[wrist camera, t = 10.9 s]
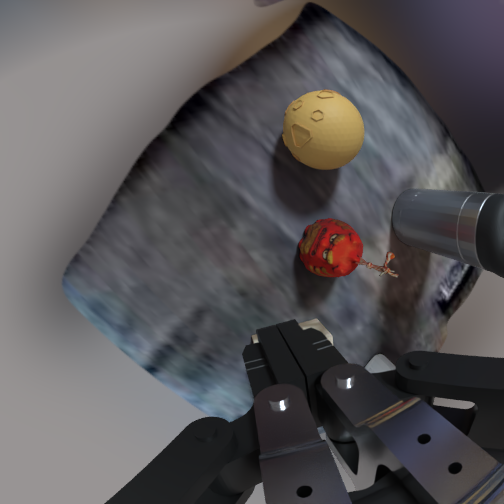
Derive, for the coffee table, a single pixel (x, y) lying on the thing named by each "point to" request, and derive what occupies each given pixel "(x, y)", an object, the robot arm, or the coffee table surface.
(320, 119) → the stress ball
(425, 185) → the coffee table surface
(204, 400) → the coffee table surface
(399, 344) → the coffee table surface
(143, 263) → the coffee table surface
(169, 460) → the robot arm
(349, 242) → the red clay folk toy
